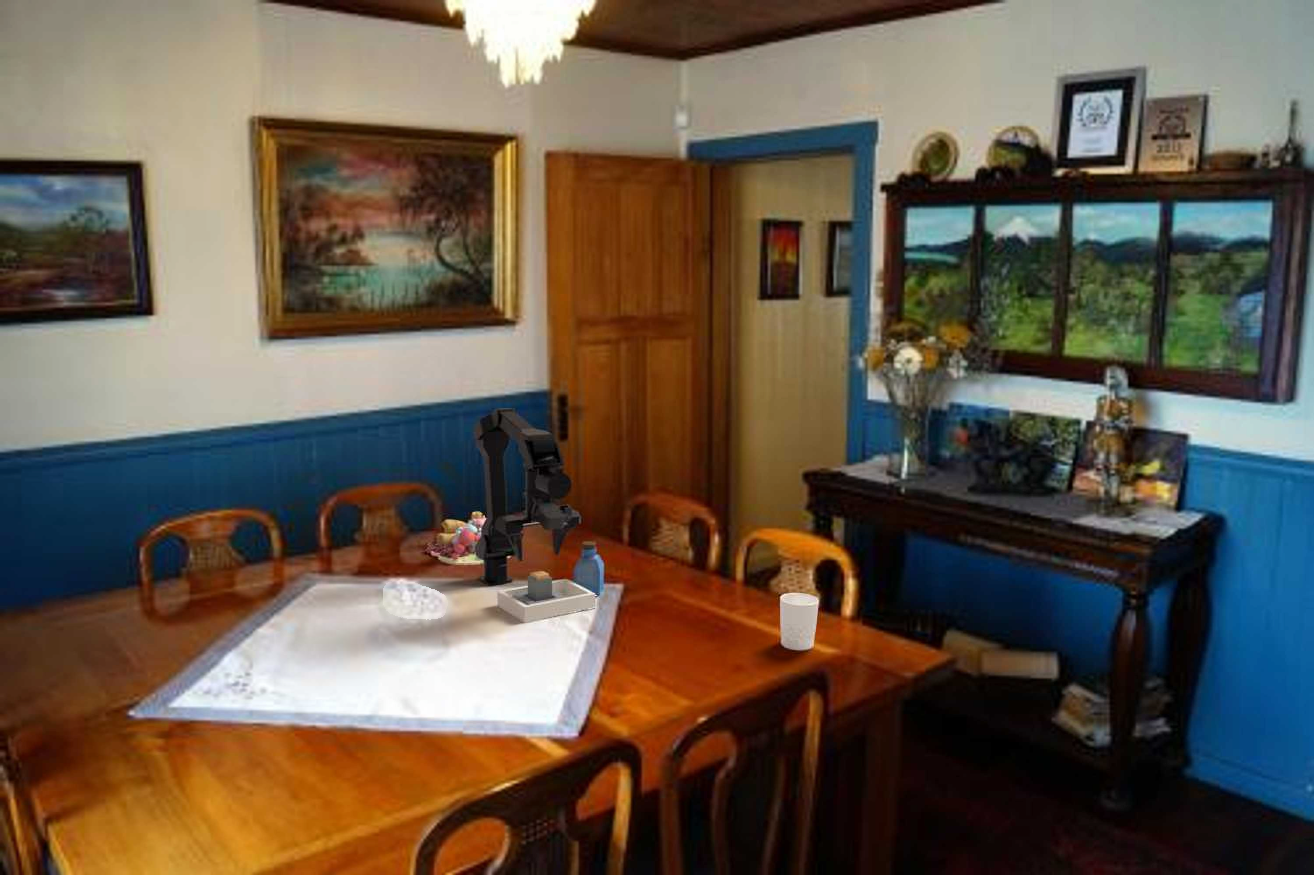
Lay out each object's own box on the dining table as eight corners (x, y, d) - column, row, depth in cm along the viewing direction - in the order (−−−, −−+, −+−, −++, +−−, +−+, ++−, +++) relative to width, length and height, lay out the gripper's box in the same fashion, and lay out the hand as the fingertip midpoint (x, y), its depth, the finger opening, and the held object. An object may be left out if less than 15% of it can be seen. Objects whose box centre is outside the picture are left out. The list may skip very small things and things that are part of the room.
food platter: (409, 549, 283) (409, 516, 282) (483, 534, 299) (483, 503, 297) (461, 570, 265) (460, 535, 264) (536, 554, 281) (536, 520, 280)
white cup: (819, 641, 222) (821, 595, 220) (812, 654, 214) (814, 607, 213) (782, 635, 224) (784, 590, 223) (774, 648, 217) (776, 602, 215)
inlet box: (497, 605, 239) (497, 591, 238) (566, 592, 249) (566, 578, 248) (524, 622, 228) (524, 607, 228) (595, 608, 239) (595, 593, 238)
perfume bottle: (603, 588, 253) (604, 540, 251) (599, 596, 247) (600, 547, 245) (578, 587, 254) (578, 539, 252) (573, 595, 247) (574, 545, 245)
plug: (536, 610, 234) (536, 577, 233) (527, 605, 237) (527, 572, 236) (551, 607, 236) (552, 574, 235) (543, 602, 240) (543, 569, 238)
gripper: (518, 502, 221) (517, 573, 224) (593, 492, 232) (592, 560, 234) (494, 491, 230) (494, 560, 232) (567, 482, 240) (567, 548, 243)
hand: (538, 557), depth 235 cm, fingers open, 9 cm apart
